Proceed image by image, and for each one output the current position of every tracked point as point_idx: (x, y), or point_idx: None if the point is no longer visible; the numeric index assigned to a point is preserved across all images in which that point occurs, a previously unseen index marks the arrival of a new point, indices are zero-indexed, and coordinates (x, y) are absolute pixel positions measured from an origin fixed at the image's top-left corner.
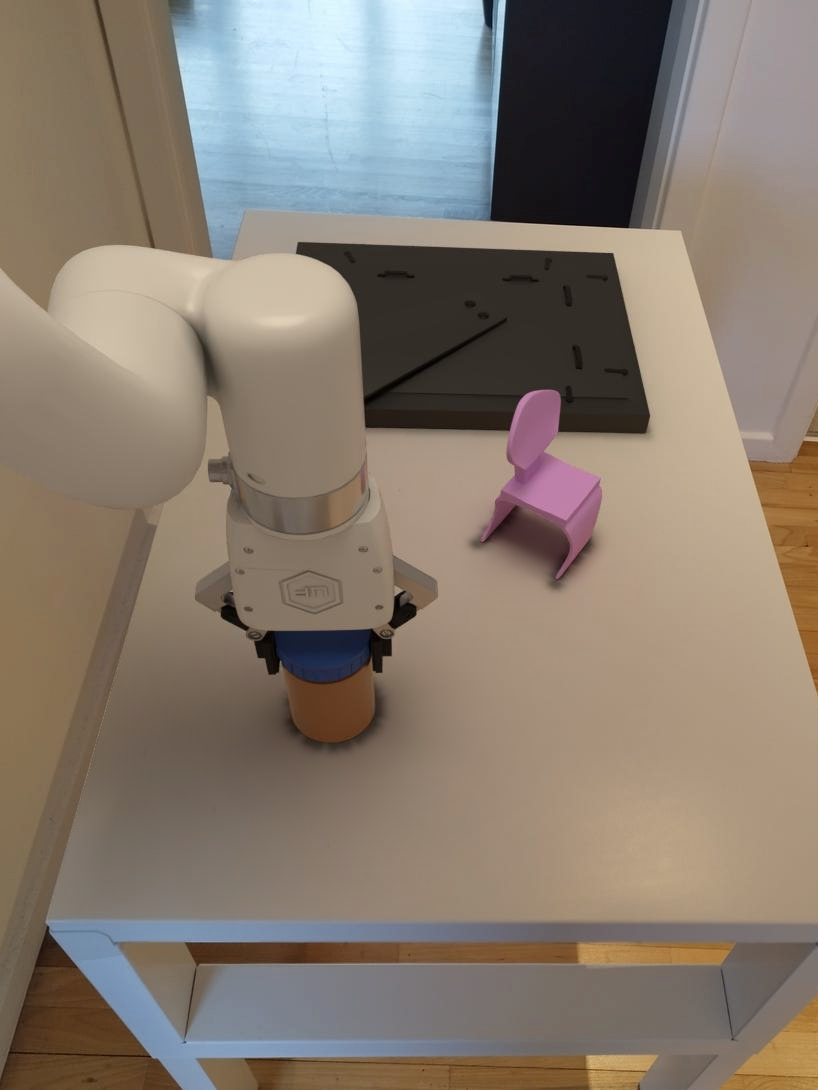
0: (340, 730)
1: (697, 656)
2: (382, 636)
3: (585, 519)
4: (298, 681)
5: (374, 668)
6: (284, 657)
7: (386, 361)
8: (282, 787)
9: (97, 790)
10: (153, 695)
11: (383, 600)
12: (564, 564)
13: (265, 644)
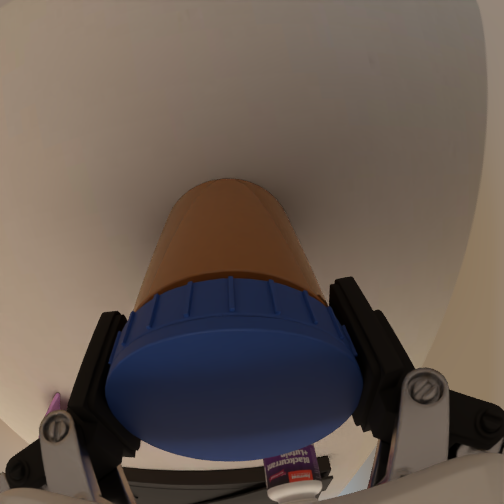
0: (198, 195)
1: None
2: (68, 417)
3: None
4: (283, 271)
5: (114, 322)
6: (336, 340)
7: (251, 498)
8: (280, 94)
9: (485, 106)
10: (448, 228)
11: None
12: (51, 406)
13: (393, 367)
